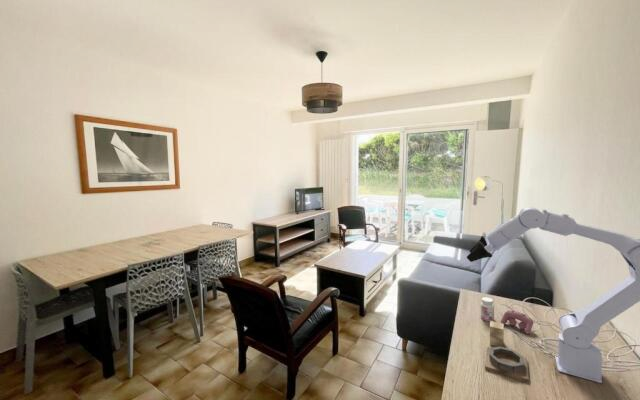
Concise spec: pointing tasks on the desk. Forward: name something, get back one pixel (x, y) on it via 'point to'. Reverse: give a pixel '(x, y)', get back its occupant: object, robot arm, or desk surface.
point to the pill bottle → (487, 309)
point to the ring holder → (507, 363)
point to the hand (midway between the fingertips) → (470, 256)
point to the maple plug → (496, 334)
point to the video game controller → (522, 317)
